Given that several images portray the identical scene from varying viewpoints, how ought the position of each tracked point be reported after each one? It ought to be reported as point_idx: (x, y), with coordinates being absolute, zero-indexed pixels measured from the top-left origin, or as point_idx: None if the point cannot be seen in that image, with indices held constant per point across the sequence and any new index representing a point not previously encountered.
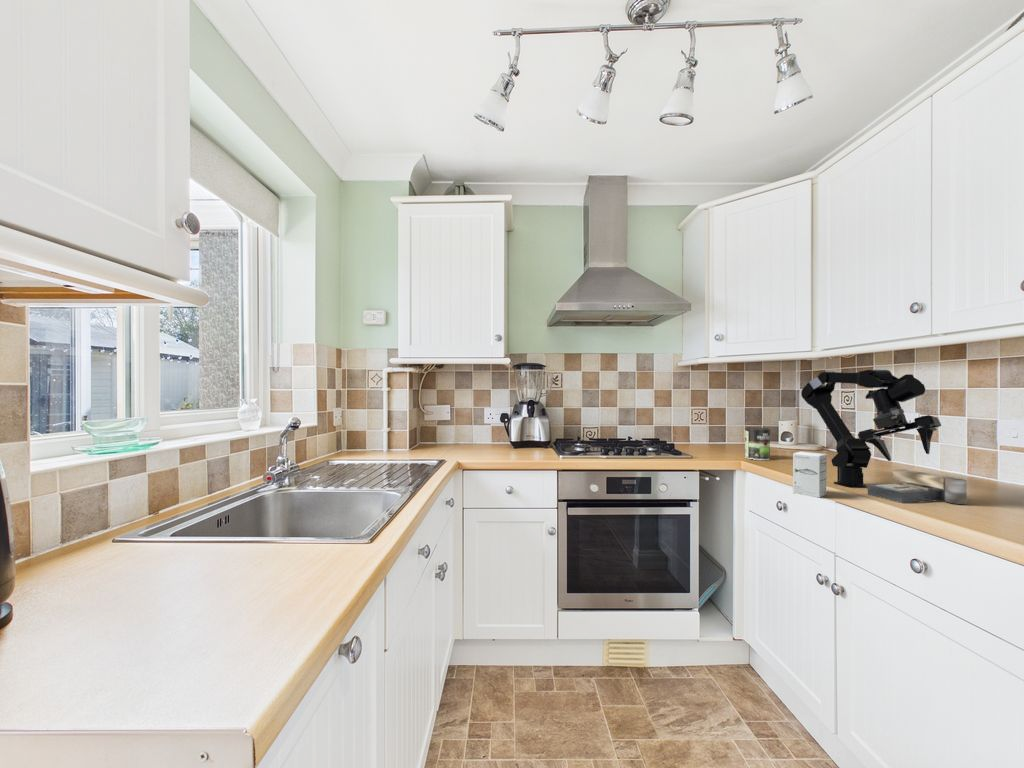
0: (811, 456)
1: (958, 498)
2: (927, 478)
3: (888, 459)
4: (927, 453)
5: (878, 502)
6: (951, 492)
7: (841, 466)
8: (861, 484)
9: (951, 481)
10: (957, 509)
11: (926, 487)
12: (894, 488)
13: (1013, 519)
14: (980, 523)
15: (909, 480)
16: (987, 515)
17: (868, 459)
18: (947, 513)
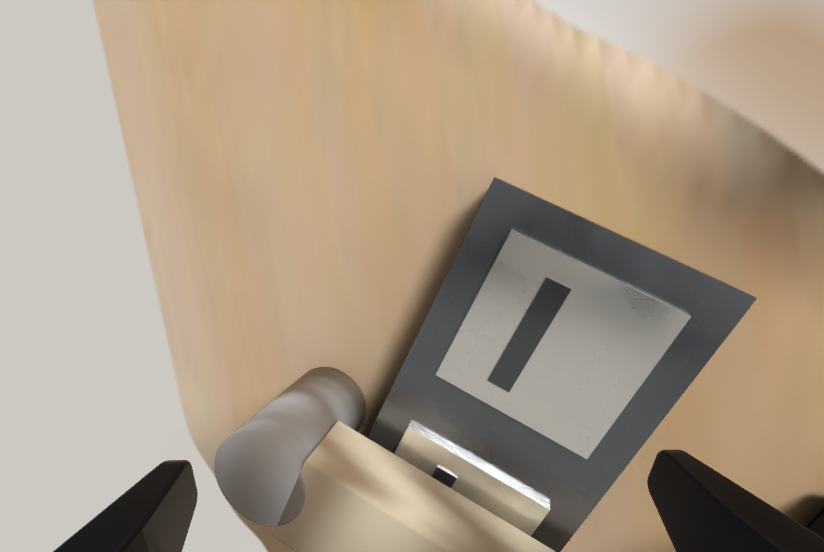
0: None
1: (299, 380)
2: (400, 502)
3: (682, 455)
4: (174, 463)
5: (609, 62)
6: (308, 393)
7: None
8: (813, 529)
9: (270, 432)
10: (296, 254)
11: (421, 458)
12: (554, 261)
13: (147, 228)
14: (178, 6)
15: (515, 539)
16: (206, 224)
17: None
18: (299, 107)
